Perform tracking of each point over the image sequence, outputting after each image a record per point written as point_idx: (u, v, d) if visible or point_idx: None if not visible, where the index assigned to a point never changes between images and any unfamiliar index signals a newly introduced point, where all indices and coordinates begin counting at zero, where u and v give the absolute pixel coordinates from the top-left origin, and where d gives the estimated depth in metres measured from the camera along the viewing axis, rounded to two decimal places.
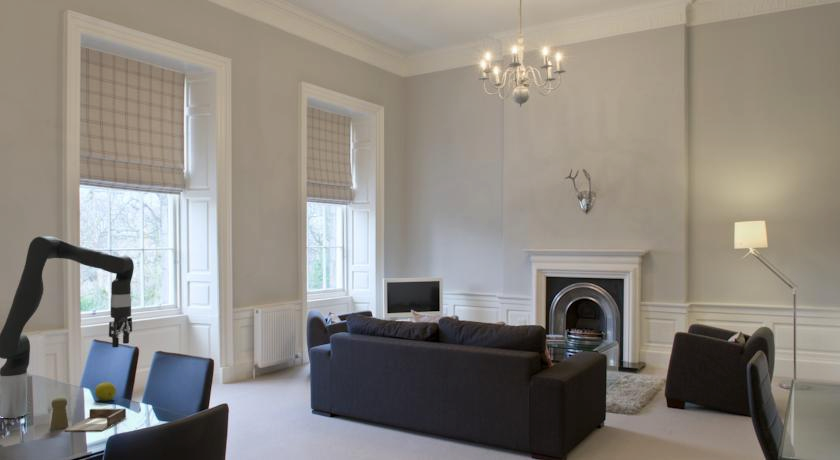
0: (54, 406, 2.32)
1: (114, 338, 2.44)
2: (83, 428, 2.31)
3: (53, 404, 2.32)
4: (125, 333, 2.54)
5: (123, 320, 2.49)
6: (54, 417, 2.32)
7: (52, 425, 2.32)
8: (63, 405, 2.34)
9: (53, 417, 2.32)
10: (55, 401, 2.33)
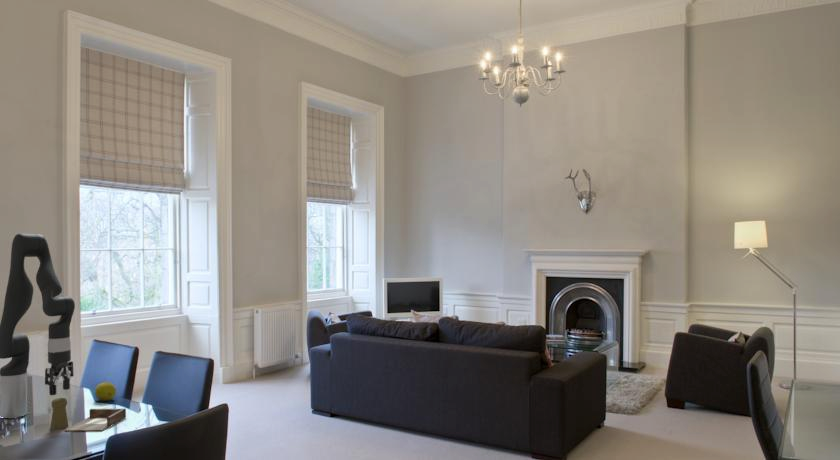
0: (54, 406, 2.32)
1: (51, 385, 2.29)
2: (83, 428, 2.31)
3: (53, 404, 2.32)
4: (65, 378, 2.39)
5: (62, 365, 2.35)
6: (54, 417, 2.32)
7: (52, 425, 2.32)
8: (63, 405, 2.34)
9: (53, 417, 2.32)
10: (55, 401, 2.33)
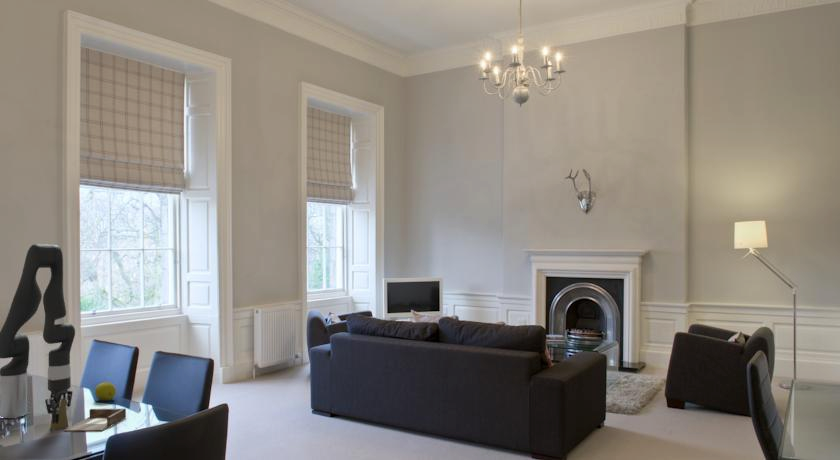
0: None
1: (54, 415, 2.31)
2: (83, 428, 2.31)
3: None
4: None
5: (61, 392, 2.35)
6: None
7: (52, 425, 2.32)
8: (63, 405, 2.34)
9: None
10: None
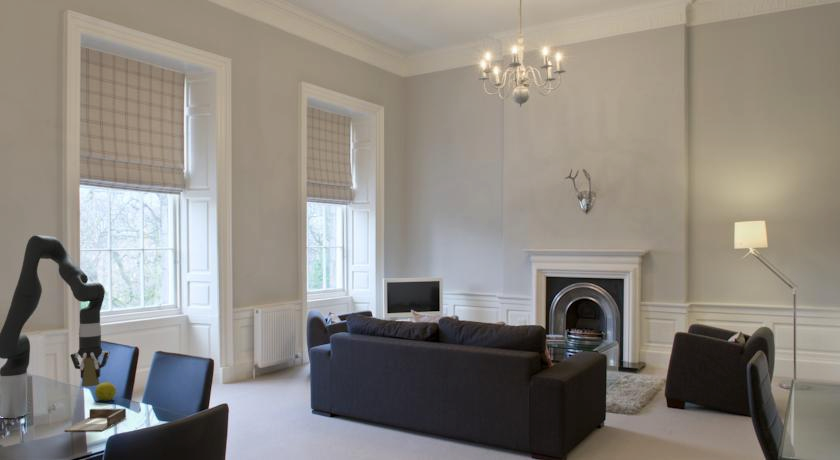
0: None
1: None
2: (83, 428, 2.31)
3: None
4: None
5: (89, 350, 2.37)
6: None
7: None
8: (85, 364, 2.36)
9: None
10: None
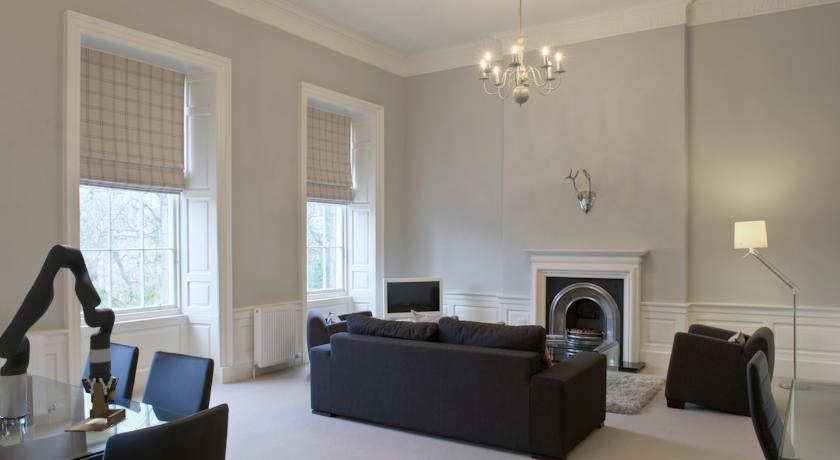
0: None
1: None
2: (83, 428, 2.31)
3: None
4: None
5: (98, 376, 2.40)
6: None
7: None
8: (94, 389, 2.38)
9: None
10: None
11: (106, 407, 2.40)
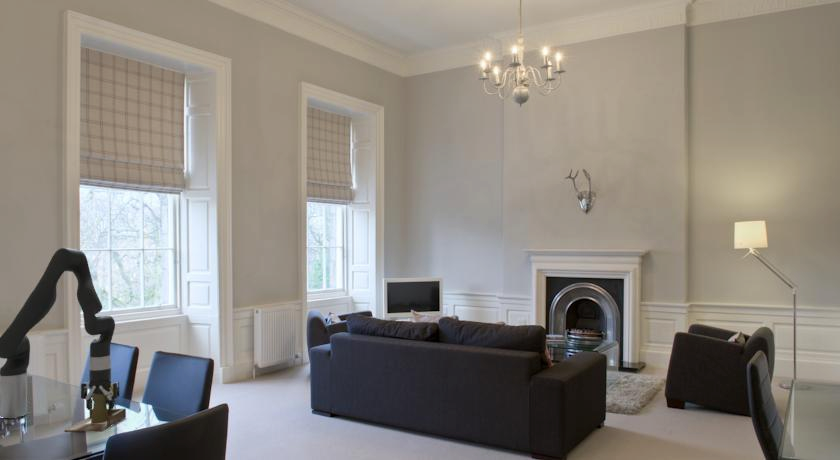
0: None
1: None
2: (83, 428, 2.31)
3: None
4: None
5: (98, 383, 2.39)
6: None
7: None
8: (94, 400, 2.38)
9: None
10: None
11: (106, 418, 2.40)
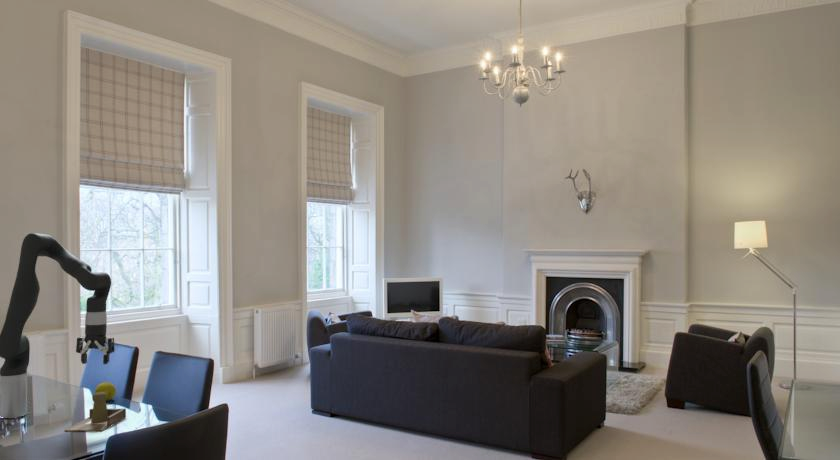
0: None
1: None
2: (83, 428, 2.31)
3: None
4: None
5: (93, 338, 2.43)
6: None
7: None
8: (94, 400, 2.38)
9: None
10: None
11: (106, 418, 2.40)
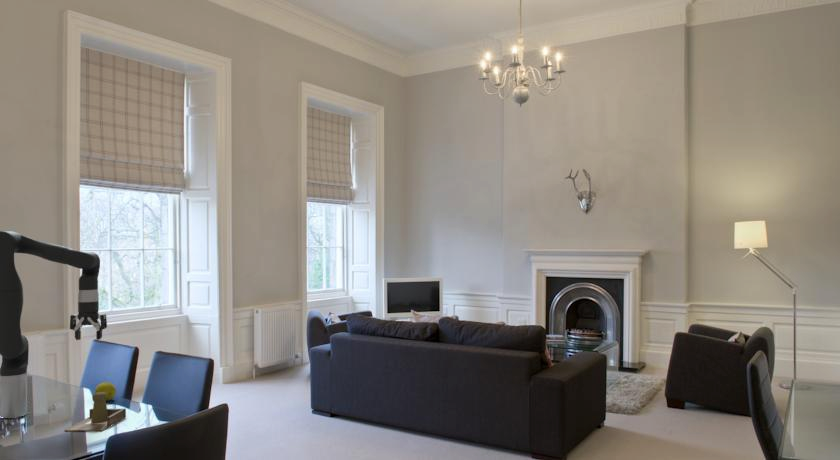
0: None
1: None
2: (83, 428, 2.31)
3: None
4: None
5: (86, 315, 2.54)
6: None
7: None
8: (94, 400, 2.38)
9: None
10: None
11: (106, 418, 2.40)
